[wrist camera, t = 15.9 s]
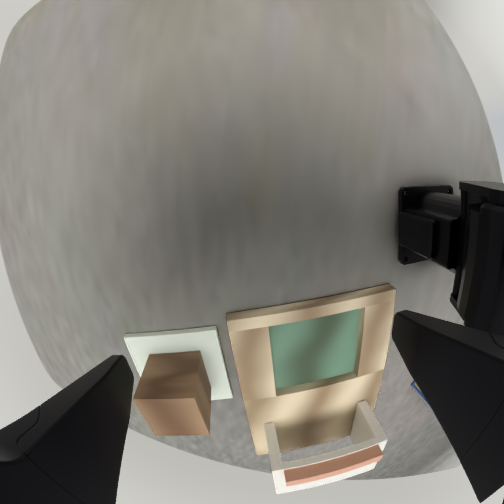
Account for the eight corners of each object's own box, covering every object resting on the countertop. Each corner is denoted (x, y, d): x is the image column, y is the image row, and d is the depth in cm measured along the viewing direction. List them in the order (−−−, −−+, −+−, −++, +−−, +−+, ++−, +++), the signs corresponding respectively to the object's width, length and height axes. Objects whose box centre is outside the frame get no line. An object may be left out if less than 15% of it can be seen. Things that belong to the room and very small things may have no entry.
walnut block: (200, 350, 21) (194, 398, 15) (211, 387, 22) (209, 434, 17) (149, 353, 21) (133, 399, 15) (164, 390, 22) (155, 435, 17)
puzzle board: (388, 283, 21) (395, 289, 20) (364, 422, 27) (367, 429, 26) (226, 313, 21) (226, 321, 19) (256, 447, 26) (257, 455, 25)
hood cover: (365, 399, 24) (393, 449, 17) (357, 433, 26) (377, 477, 19) (264, 423, 23) (274, 483, 16) (269, 454, 25) (278, 504, 18)
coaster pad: (216, 325, 21) (215, 329, 20) (232, 393, 23) (232, 398, 23) (125, 333, 21) (123, 337, 20) (154, 398, 23) (153, 402, 22)
